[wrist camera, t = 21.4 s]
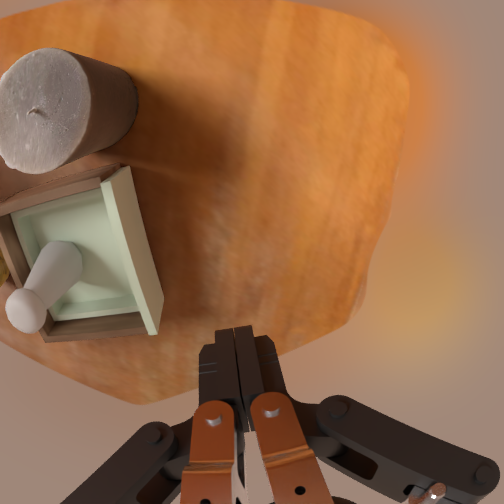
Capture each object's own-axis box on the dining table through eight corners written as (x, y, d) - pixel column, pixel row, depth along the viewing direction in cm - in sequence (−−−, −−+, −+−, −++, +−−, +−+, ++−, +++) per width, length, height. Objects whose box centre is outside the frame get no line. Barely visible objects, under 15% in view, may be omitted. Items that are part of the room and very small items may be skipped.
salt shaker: (91, 240, 34) (46, 304, 22) (86, 281, 36) (48, 351, 24) (49, 228, 32) (-7, 284, 21) (46, 268, 35) (-1, 332, 23)
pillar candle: (155, 86, 29) (112, 70, 16) (112, 163, 32) (51, 202, 19) (85, 52, 26) (12, 29, 13) (47, 128, 29) (-35, 150, 16)
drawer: (22, 195, 31) (-9, 216, 25) (129, 165, 32) (110, 181, 26) (66, 311, 39) (48, 344, 32) (164, 297, 40) (157, 334, 33)
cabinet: (17, 192, 32) (-13, 211, 25) (119, 162, 32) (99, 176, 26) (62, 311, 40) (45, 342, 33) (156, 299, 40) (149, 333, 34)
